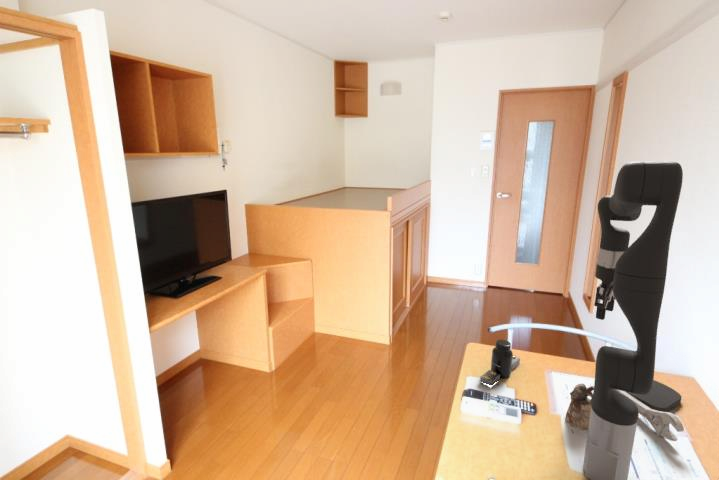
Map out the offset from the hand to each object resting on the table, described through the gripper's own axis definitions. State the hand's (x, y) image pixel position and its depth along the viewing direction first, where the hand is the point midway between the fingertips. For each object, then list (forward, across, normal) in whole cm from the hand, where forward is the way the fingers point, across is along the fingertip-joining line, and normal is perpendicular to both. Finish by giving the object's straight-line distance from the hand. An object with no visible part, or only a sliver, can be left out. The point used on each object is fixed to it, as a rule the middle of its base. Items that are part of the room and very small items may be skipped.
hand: (604, 314), depth 120 cm
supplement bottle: (+28, +9, -27) cm, 40 cm away
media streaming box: (+29, -12, +12) cm, 33 cm away
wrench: (+28, +1, +11) cm, 31 cm away
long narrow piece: (+28, +9, -27) cm, 40 cm away
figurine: (+28, +16, +1) cm, 33 cm away
